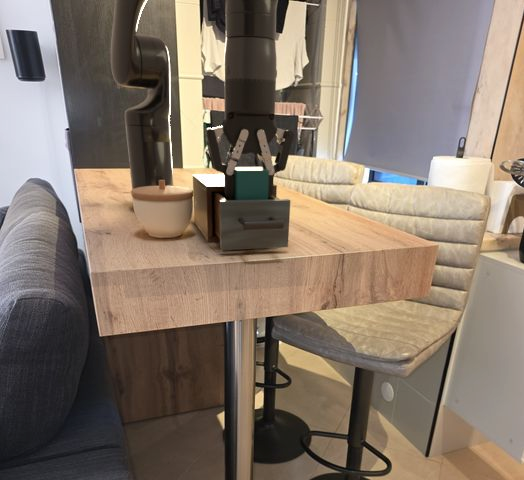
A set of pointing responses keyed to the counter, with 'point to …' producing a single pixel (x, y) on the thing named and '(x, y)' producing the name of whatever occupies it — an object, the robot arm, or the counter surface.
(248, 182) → the block
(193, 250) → the counter surface
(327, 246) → the counter surface
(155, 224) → the trinket box
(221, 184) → the cabinet
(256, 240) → the drawer
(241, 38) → the robot arm
